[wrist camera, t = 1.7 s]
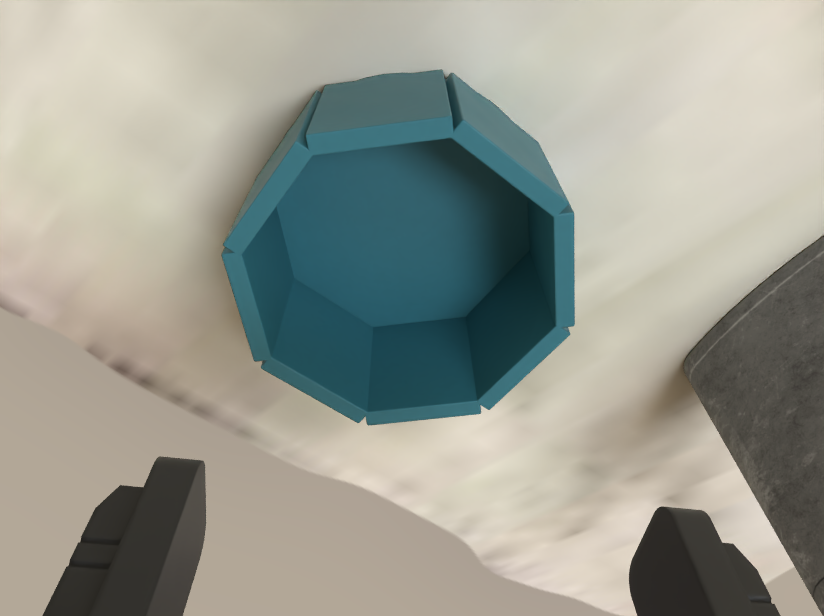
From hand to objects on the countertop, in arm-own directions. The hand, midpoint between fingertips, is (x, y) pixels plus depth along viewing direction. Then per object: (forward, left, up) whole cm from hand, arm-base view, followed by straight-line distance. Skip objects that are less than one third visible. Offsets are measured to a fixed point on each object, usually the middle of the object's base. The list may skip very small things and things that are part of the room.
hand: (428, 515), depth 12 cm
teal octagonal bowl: (+2, -4, -23) cm, 23 cm away
